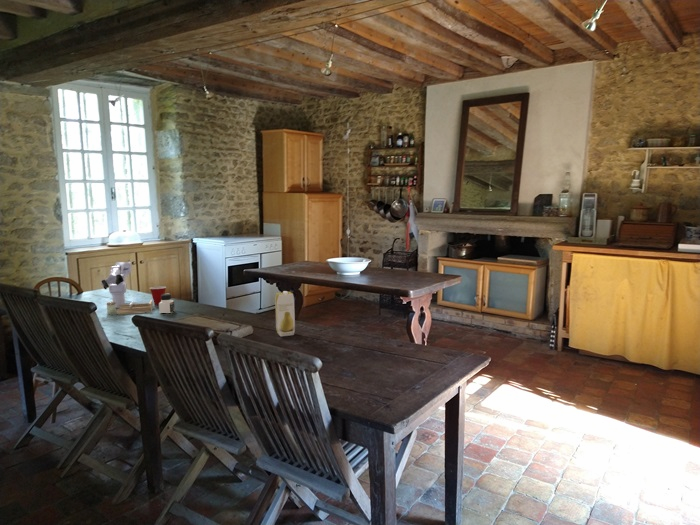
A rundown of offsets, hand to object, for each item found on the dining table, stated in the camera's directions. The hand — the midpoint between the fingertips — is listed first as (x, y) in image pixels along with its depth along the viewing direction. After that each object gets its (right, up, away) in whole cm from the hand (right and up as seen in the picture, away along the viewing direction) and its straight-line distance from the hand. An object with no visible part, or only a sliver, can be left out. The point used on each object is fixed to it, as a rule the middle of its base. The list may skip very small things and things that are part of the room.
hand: (110, 285), depth 304 cm
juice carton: (+114, -24, -41) cm, 124 cm away
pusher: (+9, -16, +10) cm, 21 cm away
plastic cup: (+19, -14, +29) cm, 37 cm away
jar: (-2, -18, +5) cm, 19 cm away
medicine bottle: (+33, -17, +7) cm, 38 cm away
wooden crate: (+11, -17, +10) cm, 23 cm away
